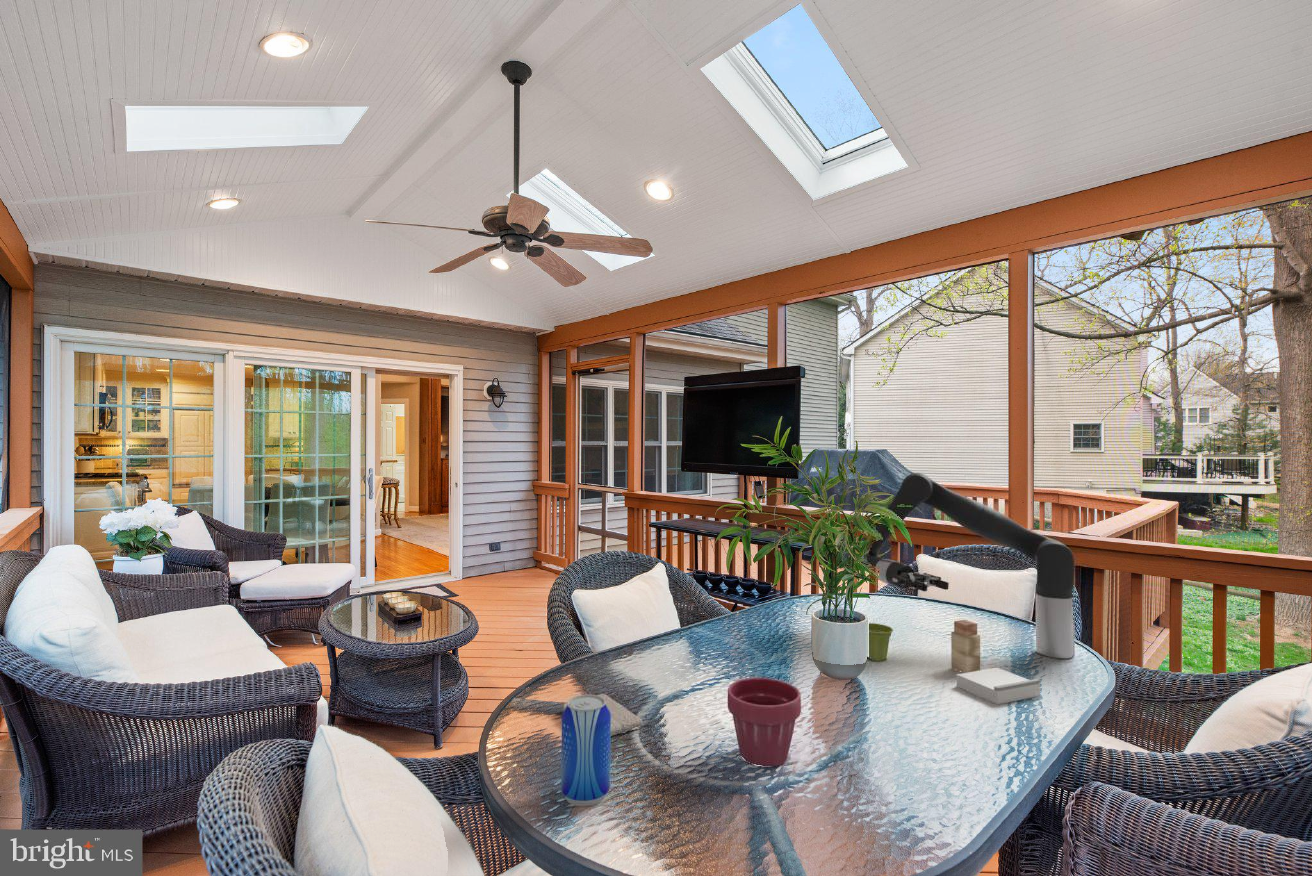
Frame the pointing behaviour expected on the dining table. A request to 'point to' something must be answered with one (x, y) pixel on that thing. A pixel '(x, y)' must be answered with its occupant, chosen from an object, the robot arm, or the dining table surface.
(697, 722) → the dining table surface
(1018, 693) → the dock
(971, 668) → the beige tall block
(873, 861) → the dining table surface
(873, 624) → the plant pot
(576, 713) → the beer can
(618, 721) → the washcloth
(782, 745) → the plant pot
